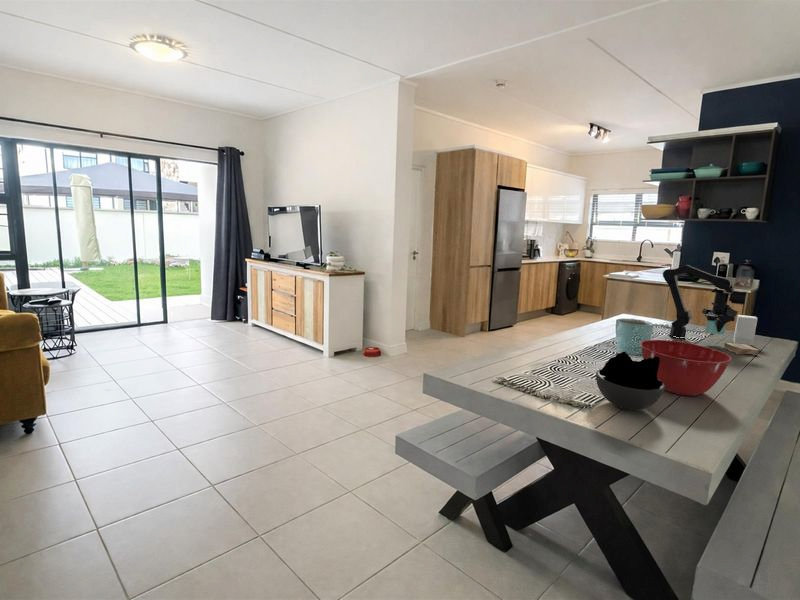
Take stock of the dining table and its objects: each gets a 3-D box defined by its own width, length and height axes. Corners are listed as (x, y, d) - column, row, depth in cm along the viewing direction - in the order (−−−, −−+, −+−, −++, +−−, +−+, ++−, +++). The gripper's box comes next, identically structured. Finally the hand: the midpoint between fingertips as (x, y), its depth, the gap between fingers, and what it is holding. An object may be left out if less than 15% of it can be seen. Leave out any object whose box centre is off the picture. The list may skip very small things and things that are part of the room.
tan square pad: (736, 354, 216) (737, 348, 216) (723, 348, 226) (725, 342, 225) (757, 355, 215) (759, 349, 215) (744, 349, 225) (745, 344, 225)
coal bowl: (582, 404, 143) (590, 350, 140) (605, 390, 157) (613, 340, 154) (648, 427, 129) (659, 367, 126) (667, 409, 143) (677, 355, 140)
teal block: (712, 333, 229) (714, 322, 228) (705, 330, 235) (707, 320, 234) (724, 334, 229) (726, 323, 227) (717, 331, 234) (719, 321, 233)
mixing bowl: (617, 378, 171) (623, 340, 168) (669, 372, 181) (675, 337, 178) (686, 408, 145) (694, 364, 142) (741, 400, 155) (750, 359, 152)
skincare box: (751, 344, 238) (756, 316, 235) (752, 347, 232) (758, 318, 229) (732, 341, 242) (737, 314, 239) (733, 343, 237) (739, 316, 234)
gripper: (749, 306, 219) (742, 336, 222) (725, 299, 237) (720, 327, 240) (725, 304, 220) (719, 334, 223) (704, 298, 238) (699, 325, 241)
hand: (715, 330), depth 231 cm, fingers closed on teal block, 6 cm apart
